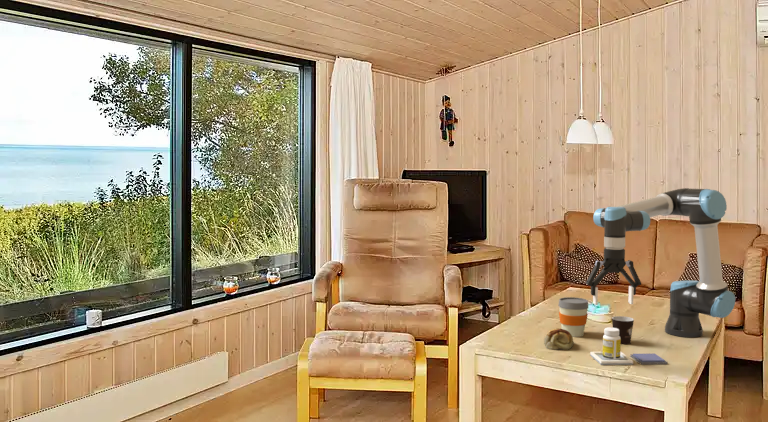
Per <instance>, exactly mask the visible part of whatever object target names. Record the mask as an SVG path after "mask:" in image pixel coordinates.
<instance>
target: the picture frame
mask: <svg viewBox="0 0 768 422" xmlns="http://www.w3.org/2000/svg"><path fill="white" fill-rule="evenodd" d="M589 354H590V355H589V356H591V358H592V359H594V360H595V361H596V362H597V363H598V364H600V366H615V365H617V366H626V365H627V366H629V365H630V366H631V365H632V366H633V365H634V359H631V357H630V356H627V355H626V354H625V353H624V352H623V351H620V359H619V360H606V359H604V358H603V351H590V352H589Z"/></svg>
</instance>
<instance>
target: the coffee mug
mask: <svg viewBox="0 0 768 422" xmlns="http://www.w3.org/2000/svg"><path fill="white" fill-rule="evenodd" d="M634 321H635V320H634V318H633V317H629V316H623V315H622V316H621V315H618V316H616V315H615V316H612V317H611V322H612V328H617V329H619V336H620V338H621V345H630V344H631V341H632V340H631V339H632V334H633V329H634V328H633V327H634V323H635V322H634Z"/></svg>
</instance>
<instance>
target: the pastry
mask: <svg viewBox="0 0 768 422" xmlns="http://www.w3.org/2000/svg"><path fill="white" fill-rule="evenodd" d="M543 342H544V343H543V344H544V346H545V348H546V349H547V350H551V351H552V350H554V351H557V350H558V351H559V350H561V351H563V350H564V351H566V350H571V349H572V347H573V346H574V342H575V341H574V337H572V335H571V334H570V332H568V331H567V330H564V329H562V328H553V329H550V330H549V331H547V332H546V334H545V336H544V339H543Z"/></svg>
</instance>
